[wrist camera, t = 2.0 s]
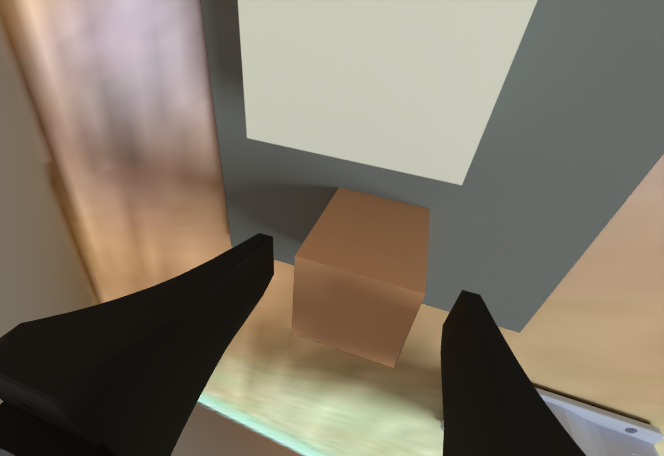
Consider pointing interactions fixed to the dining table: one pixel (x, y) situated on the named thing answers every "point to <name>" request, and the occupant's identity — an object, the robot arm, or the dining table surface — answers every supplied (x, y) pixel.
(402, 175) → the grey flat plate
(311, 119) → the base block
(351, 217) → the terracotta block
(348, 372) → the dining table surface
